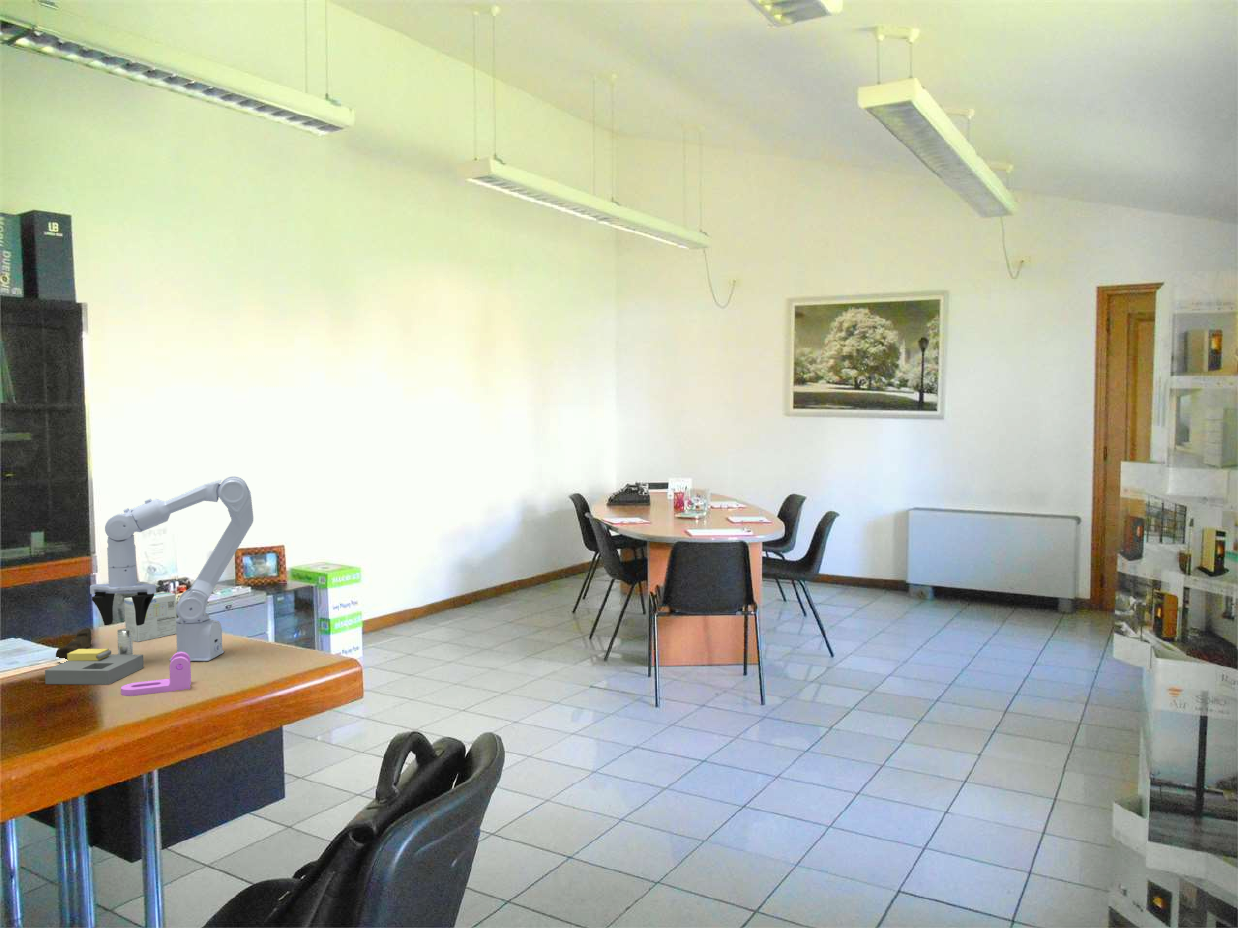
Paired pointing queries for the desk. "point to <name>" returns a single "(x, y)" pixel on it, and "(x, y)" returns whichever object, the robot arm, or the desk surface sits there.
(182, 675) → the bracket
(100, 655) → the latch flap
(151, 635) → the light bulb box
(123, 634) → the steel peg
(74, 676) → the plate
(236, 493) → the robot arm
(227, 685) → the desk surface
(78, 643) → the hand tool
